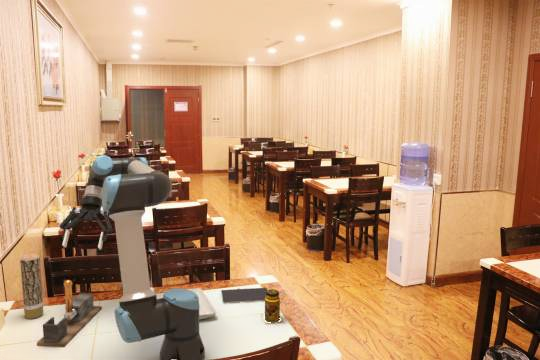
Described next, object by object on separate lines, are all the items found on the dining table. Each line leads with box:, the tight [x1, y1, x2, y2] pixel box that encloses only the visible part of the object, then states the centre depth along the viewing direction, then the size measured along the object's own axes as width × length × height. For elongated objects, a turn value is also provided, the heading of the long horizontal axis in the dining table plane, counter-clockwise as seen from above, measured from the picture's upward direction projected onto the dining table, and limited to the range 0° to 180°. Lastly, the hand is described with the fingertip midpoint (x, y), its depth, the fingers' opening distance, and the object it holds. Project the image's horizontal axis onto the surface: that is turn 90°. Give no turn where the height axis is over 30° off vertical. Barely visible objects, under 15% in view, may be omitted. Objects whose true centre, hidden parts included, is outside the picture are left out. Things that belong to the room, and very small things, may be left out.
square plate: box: [156, 287, 217, 320], centre depth 186 cm, size 27×27×4 cm
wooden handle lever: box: [63, 279, 77, 321], centre depth 176 cm, size 18×3×16 cm, turn 176°
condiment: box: [261, 289, 284, 324], centre depth 180 cm, size 7×8×12 cm
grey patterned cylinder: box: [19, 253, 44, 320], centre depth 178 cm, size 7×7×25 cm
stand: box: [36, 292, 103, 348], centre depth 172 cm, size 30×10×8 cm, turn 176°
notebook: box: [220, 287, 269, 305], centre depth 201 cm, size 13×2×21 cm
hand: (81, 247), depth 175 cm, fingers open, 13 cm apart
